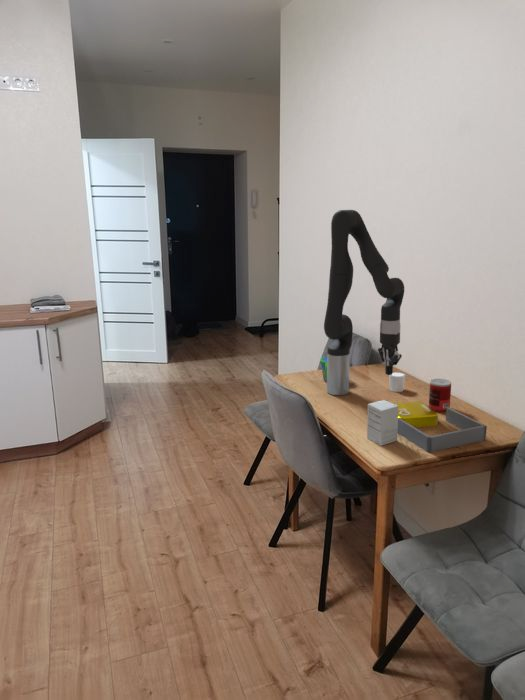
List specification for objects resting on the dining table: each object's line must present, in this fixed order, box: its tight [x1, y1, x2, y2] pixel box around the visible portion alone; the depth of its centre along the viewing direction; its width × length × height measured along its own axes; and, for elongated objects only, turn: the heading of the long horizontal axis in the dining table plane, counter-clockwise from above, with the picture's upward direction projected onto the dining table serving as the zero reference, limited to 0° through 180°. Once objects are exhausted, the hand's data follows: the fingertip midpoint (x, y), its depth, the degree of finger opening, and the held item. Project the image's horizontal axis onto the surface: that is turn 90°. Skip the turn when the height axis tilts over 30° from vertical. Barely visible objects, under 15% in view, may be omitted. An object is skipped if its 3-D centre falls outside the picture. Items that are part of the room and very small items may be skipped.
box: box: [397, 407, 488, 453], centre depth 177 cm, size 18×23×5 cm
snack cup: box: [319, 356, 327, 383], centre depth 236 cm, size 16×10×10 cm
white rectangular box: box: [366, 399, 398, 446], centre depth 174 cm, size 7×7×13 cm
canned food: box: [428, 378, 452, 413], centre depth 199 cm, size 8×8×11 cm
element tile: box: [391, 400, 439, 428], centre depth 191 cm, size 15×15×5 cm
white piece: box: [388, 371, 406, 393], centre depth 222 cm, size 7×7×7 cm
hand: (388, 374), depth 202 cm, fingers closed
